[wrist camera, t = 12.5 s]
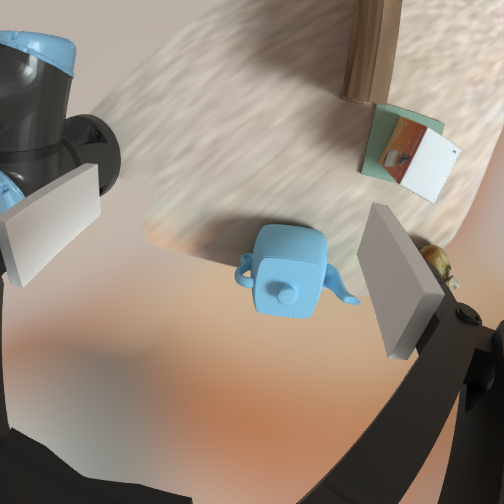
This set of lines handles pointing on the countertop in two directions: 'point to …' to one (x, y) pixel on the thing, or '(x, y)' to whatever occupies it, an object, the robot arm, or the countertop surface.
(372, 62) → the screen
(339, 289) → the teapot
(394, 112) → the mat
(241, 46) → the countertop surface
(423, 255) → the onion
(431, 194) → the small box
